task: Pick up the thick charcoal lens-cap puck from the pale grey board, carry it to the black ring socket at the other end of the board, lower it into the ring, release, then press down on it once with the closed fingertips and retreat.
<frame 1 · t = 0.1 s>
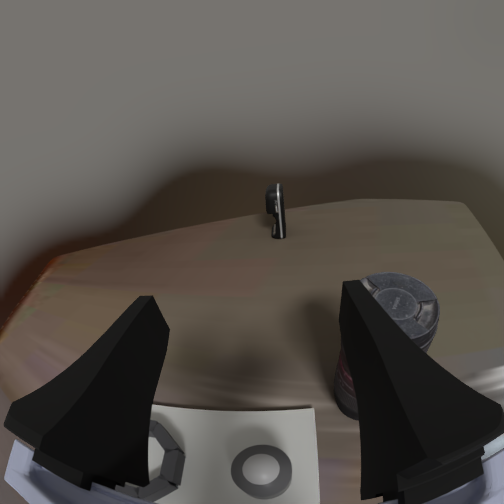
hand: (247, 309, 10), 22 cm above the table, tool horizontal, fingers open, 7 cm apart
board: (196, 474, 20), on the table
compact digital camera: (277, 233, 64), on the table
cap: (265, 477, 18), point 1 cm above the table, touching board
camera lens: (363, 398, 26), on the table
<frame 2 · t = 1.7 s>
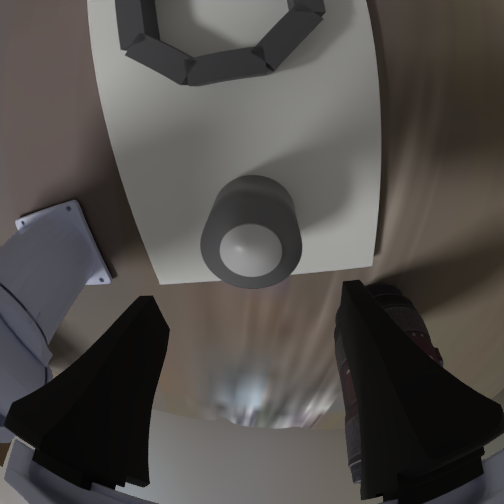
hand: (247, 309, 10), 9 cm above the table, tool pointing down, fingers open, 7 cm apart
board: (237, 98, 13), on the table
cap: (253, 213, 17), point 1 cm above the table, touching board
camera lens: (368, 309, 23), on the table
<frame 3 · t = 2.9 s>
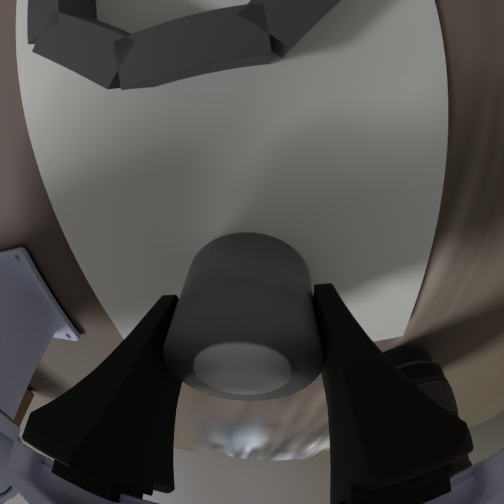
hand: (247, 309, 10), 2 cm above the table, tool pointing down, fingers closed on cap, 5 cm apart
board: (220, 104, 8), on the table
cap: (248, 285, 11), point 1 cm above the table, touching board, gripper
camera lens: (388, 369, 17), on the table
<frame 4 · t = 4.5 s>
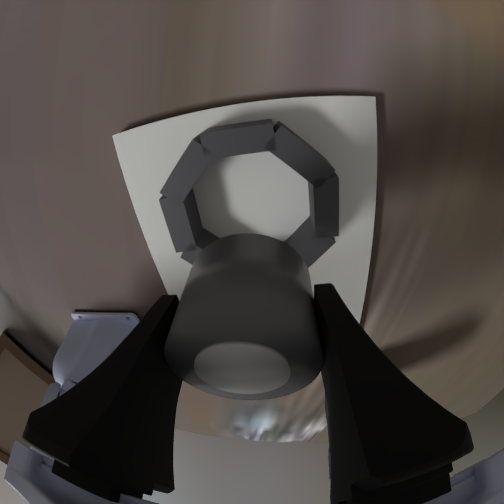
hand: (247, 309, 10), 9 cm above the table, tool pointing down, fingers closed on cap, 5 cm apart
board: (264, 267, 21), on the table
photo frame: (37, 368, 40), on the table
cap: (249, 285, 11), point 8 cm above the table, touching gripper
when the fingers open (4 cm above the table, at t = 6.1 s): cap drops 1 cm, resting on board.
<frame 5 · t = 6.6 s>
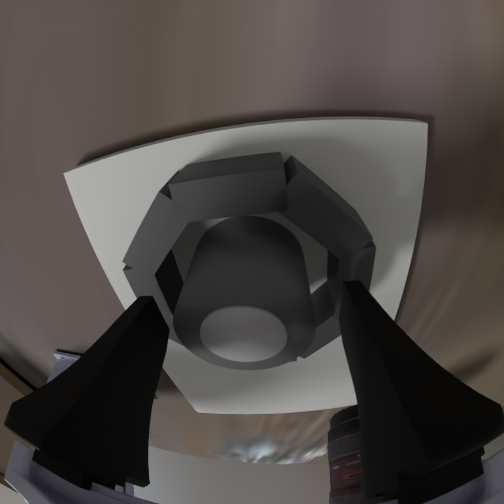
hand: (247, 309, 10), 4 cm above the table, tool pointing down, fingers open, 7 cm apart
board: (265, 330, 17), on the table
photo frame: (28, 387, 35), on the table
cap: (249, 264, 12), point 1 cm above the table, touching board
camera lens: (357, 412, 26), on the table
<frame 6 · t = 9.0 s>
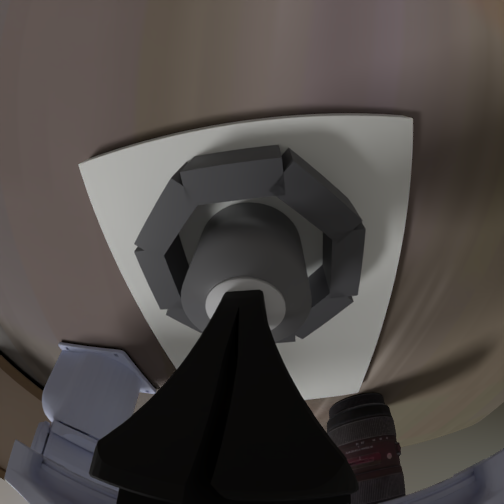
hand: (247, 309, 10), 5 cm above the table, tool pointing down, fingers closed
board: (265, 315, 18), on the table
photo frame: (31, 383, 36), on the table
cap: (250, 248, 13), point 1 cm above the table, touching board
camera lens: (355, 403, 27), on the table
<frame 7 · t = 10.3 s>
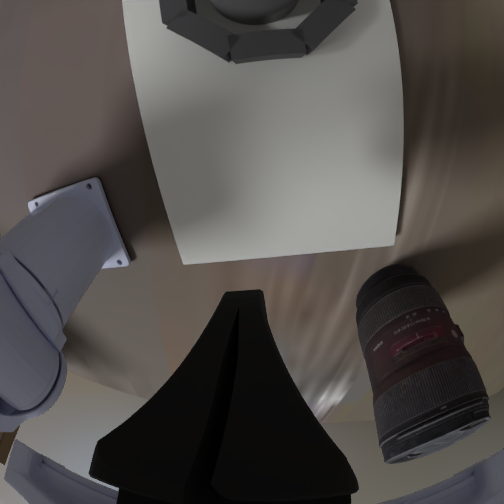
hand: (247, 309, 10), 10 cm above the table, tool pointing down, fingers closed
board: (270, 78, 13), on the table
photo frame: (4, 322, 32), on the table
camera lens: (387, 291, 23), on the table
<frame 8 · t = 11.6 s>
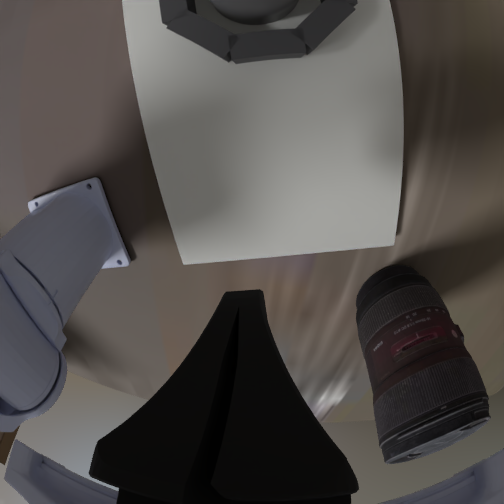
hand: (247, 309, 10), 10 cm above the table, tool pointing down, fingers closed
board: (270, 78, 13), on the table
photo frame: (4, 322, 32), on the table
camera lens: (387, 291, 23), on the table
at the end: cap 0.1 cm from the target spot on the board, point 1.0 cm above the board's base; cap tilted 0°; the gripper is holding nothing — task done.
